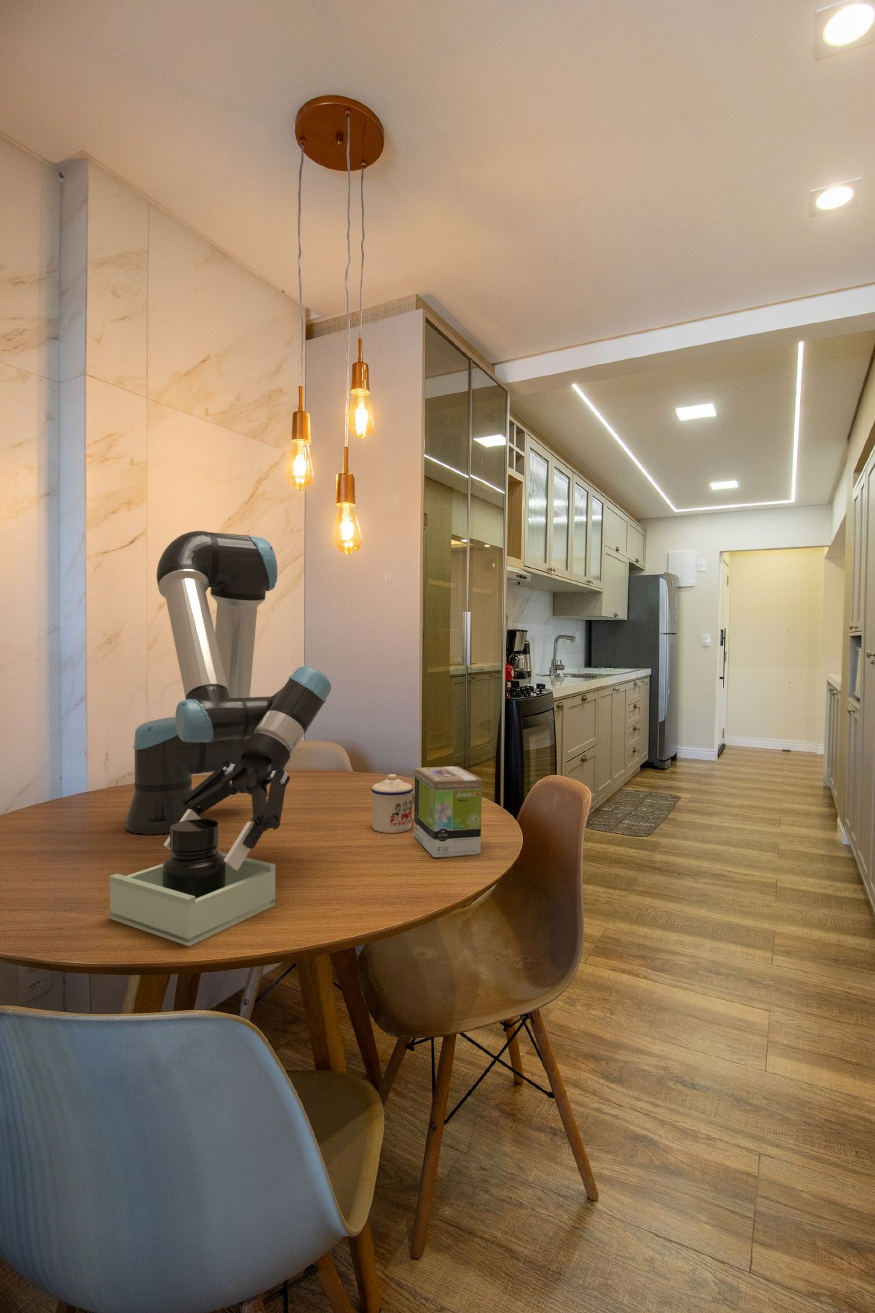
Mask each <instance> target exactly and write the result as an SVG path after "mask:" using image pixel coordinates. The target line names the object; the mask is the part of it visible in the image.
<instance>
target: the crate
mask: <svg viewBox="0 0 875 1313" xmlns="http://www.w3.org/2000/svg"><path fill="white" fill-rule="evenodd" d="M217 851H218V852H219V853H220V854H222V855H223V856H224V858H225V857H226V856H227V854H228V853H229V852H225V851H219V850H217ZM163 864H164V863H161V864H158V865H155V866H152V867H149V868H146V869H143V870H140V871H137V872H133V873H131V874H127V875H123V874H120V873H114V874H112V875H109V876H108V877H109V878H108V880H109V918H110V919H109V920H112V921H115V922H119V923H121V924H124V925H127V926H129V927H133V928H135V929H139V930H141V931H143V932H147V933H150V934H151V935H155V936H158V937H162V938H164V939H167V940H169V941H172V942H175V943H178V944H181V945H183V946H186V947H191V946H193V945H196V944H197V943H199V942H201V941H203V940H205V939H208V938H210V937H213V936H215V935H216V934H218V933H220V932H222V931H224V930H226V929H228V928H230V927H233V926H235V925H237V924H239V923H241V922H243V921H245V920H247V919H250V918H252V917H254V916H255V915H258V914H260V913H263V912H264V911H266V910H269V909H271V908H272V907H275V906H276V867H277V865H276V864H275V863H272V862H271V863H270V862H267V861H263V860H259V859H254V858H250V857H246V858H245V859H244V861H243V863H242V864H241V866H240V868H239V869H238V871H237V870H234V869H233V868H231V867H230V866H229V865H228V864H227V863H226V862H225V867H226V887H224V888H221V889H219V890H216V891H214V892H211V893H209V894H207V895H204V896H202V897H199V898H197V899H195V896H192V895H188V894H185V893H182V892H178V891H175V890H171V889H168V888H165V887H162V874H163Z"/></svg>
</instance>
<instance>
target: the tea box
mask: <svg viewBox="0 0 875 1313" xmlns="http://www.w3.org/2000/svg"><path fill="white" fill-rule="evenodd" d="M482 795H483V779H482V778H480V777H479V776H477V775H475V774H473V773H471V772H470V771H467V770H466V769H463V768H462V767H459V766H457V765H456V766H434V767H431V766H430V767H429V766H428V767H427V766H426V767H415V768H414V796H415V797H414V806H413V810H414V812H413V836H414V838H415V839H416V840H417V841H418V842H419V843H420V844H421V846H423V848H425V850H426V851H427V852H428V853H429V854H430V856H432V858H449V857H450V858H451V857H462V856H474V855H480V854H481V848H482V847H481V846H482V834H481V833H482V808H483V806H482Z"/></svg>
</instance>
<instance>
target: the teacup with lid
mask: <svg viewBox="0 0 875 1313" xmlns="http://www.w3.org/2000/svg"><path fill="white" fill-rule="evenodd" d="M371 793H372V796H371V797H372V798H371V799H372V801H371V804H372V808H371V809H372V810H371V813H372V814H371V815H372V818H371V820H372V821H371V822H372V823H371V824H372V825H371V826H372V830H374V831H376V832H378V833H385V834H397V833H404V832H407V831H409V830H410V829H412V828H413V809H414V797H415V796H414V794H415V791H414V787H413V785H412V784H411V783H407V782H404V781H403V780H402V779H399V778H398V776H397V774H394V773H393V774H392V773H390V774H388V775H387V778H386V779H384V780H382V781H380V782H377V783H375V784H373V785H372V787H371Z"/></svg>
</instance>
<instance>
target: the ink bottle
mask: <svg viewBox="0 0 875 1313" xmlns="http://www.w3.org/2000/svg"><path fill="white" fill-rule="evenodd" d="M169 836H170V850H169V851H170V852H171V854H170V856H168V858H167V859H166V860H165V861H164V862H163V863H162V864H163V874H162V887H165V888H168V889H171V890H175V891H178V892H182V893H185V894H188V895H192V896H195V899H197V898H199V897H202V896H204V895H207V894H209V893H211V892H214V891H216V890H219V889H221V888H224V887H226V867H225V862H224V859H225V858H224V856H223V855H222V854H220V853H219V852H218V851H219V850H217V849H218V847H219V822H218V821H216V820H214V819H213V820H212V819H208V818H207V819H205V818H203V819H202V818H201V819H195V820H187V821H181V822H178V823H175V824H173V825H171V827H170V833H169Z"/></svg>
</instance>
